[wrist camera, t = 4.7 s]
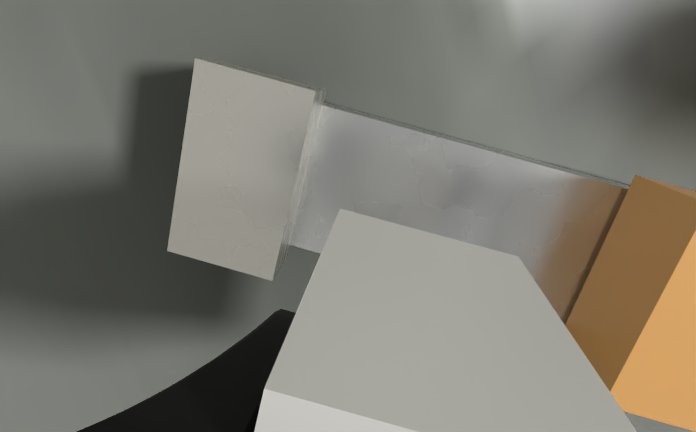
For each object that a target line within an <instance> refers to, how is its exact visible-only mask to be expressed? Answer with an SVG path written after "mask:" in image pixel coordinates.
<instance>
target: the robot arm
mask: <svg viewBox="0 0 696 432" xmlns="http://www.w3.org/2000/svg"><path fill="white" fill-rule="evenodd" d="M295 314H296V313H294V312H290V311H287V310H283V309H280V310H278V311H276V312H274V313H273V314H272V315H271V316H270V317H269V318H268V319H267V320H265V321H264V322H263V323H262V324H261V325H259V326H258V327H257V328H256V329H255V330H253V331H252V332H251V333H249V334H248V335H247V336H246V337H244V338H243V339H242V340H240V341H239V342H237V343H236V344H235V345H233V346H232V347H231V348H229V349H228V350H226V351H225V352H224V353H222V354H221V355H219V356H218V357H217V358H215V359H214V360H212V361H211V362H209V363H207V364H206V365H204V366H203V367H201V368H199V369H198V370H196V371H195V372H193V373H191V374H190V375H188V376H187V377H185V378H184V379H182V380H180V381H179V382H177V383H175V384H173V385H172V386H170V387H168V388H166V389H165V390H163V391H161V392H159V393H157V394H156V395H154V396H152V397H150V398H148V399H146V400H144V401H142V402H140V403H138V404H136V405H134V406H133V407H131V408H129V409H127V410H125V411H122V412H120V413H118V414H116V415H114V416H112V417H109V418H107V419H105V420H103V421H101V422H98V423H96V424H94V425H91V426H89V427H86V428H84V429H82V430H79V431H77V432H254V430H255V426H256V422H257V417H258V413H259V408H260V404H261V400H262V395H263V391H264V388H265V385H266V383H267V380H268V378H269V376H270V373H271V371H272V369H273V366H274V364H275V361H276V359H277V357H278V354H279V352H280V350H281V347H282V345H283V343H284V340H285V338H286V335H287V333H288V331H289V328H290V326H291V324H292V321H293V319H294V316H295Z"/></svg>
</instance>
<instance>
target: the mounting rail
mask: <svg viewBox="0 0 696 432" xmlns="http://www.w3.org/2000/svg"><path fill="white" fill-rule="evenodd" d="M325 93H326V90H325V89H322V88H318V87H314V86H311V85H307V84H304V83H300V82H296V81H293V80H289V79H285V78H282V77H278V76H274V75H271V74H267V73H263V72H260V71H256V70H252V69H249V68H245V67H241V66H238V65H234V64H230V63H227V62H223V61H217V60H208V59H199V58H195V63H194V69H193V76H192V83H191V90H190V97H189V104H188V111H187V118H186V124H185V131H184V138H183V145H182V152H181V159H180V166H179V173H178V179H177V186H176V193H175V200H174V207H173V214H172V221H171V228H170V234H169V241H168V248H167V251H169V252H173V253H176V254H180V255H183V256H187V257H190V258H194V259H197V260H201V261H204V262H208V263H211V264H215V265H218V266H222V267H225V268H229V269H232V270H236V271H239V272H243V273H246V274H250V275H253V276H257V277H261V278H264V279H268V280H271V281H273V279H274V277H275V276H276V274H277V273H278V271H279V269H280V268H281V266H282V264H283V263H284V261H285V260H286V258H287V255H288V250H289V246H290V245H292V246H296V247H299V248H303V249H306V250H310V251H313V252H317V253H320V254H321V253H322V250H323V248H324V245H325V243H326V241H327V238H328V236H329V234H330V231H331V229H332V226H333V224H334V222H335V219H336V217H337V215H338V212H339V210H340V209H344V210H348V211H351V212H355V213H359V214H363V215H366V216H370V217H374V218H377V219H381V220H385V221H388V222H392V223H396V224H400V225H403V226H407V227H411V228H414V229H418V230H422V231H426V232H429V233H433V234H437V235H440V236H444V237H448V238H452V239H455V240H459V241H463V242H466V243H470V244H474V245H478V246H481V247H485V248H489V249H492V250H496V251H500V252H504V253H507V254H511V255H515V256H518V257H519V258H520V259H521V261H522V262H523V264H524V265H525V267H526V268H527V270H528V271H529V273H530V274H531V276H532V277H533V279H534V280H535V282H536V283H537V285H538V286H539V288H540V289H541V291H542V292H543V294H544V295H545V296H546V298H547V299H548V301H549V302H550V304H551V305H552V307H553V308H554V310H555V311H556V313H557V314H558V316H559V317H560V319H561V320H562V322H565V323H566V322H567V320H568V318H569V316H570V314H571V312H572V309H573V307H574V305H575V303H576V301H577V299H578V297H579V294H580V292H581V290H582V288H583V286H584V284H585V282H586V279H587V277H588V275H589V273H590V271H591V269H592V267H593V264H594V262H595V260H596V258H597V256H598V254H599V251H600V249H601V247H602V245H603V243H604V241H605V239H606V236H607V234H608V232H609V230H610V228H611V226H612V224H613V221H614V219H615V217H616V215H617V213H618V211H619V209H620V206H621V204H622V202H623V200H624V198H625V196H626V194H627V191H628V189H629V187H630V186H629V185H626V184H622V183H619V182H615V181H611V180H608V179H604V178H600V177H597V176H593V175H589V174H586V173H582V172H578V171H575V170H571V169H568V168H564V167H560V166H557V165H553V164H549V163H546V162H542V161H538V160H535V159H531V158H527V157H524V156H520V155H517V154H513V153H509V152H506V151H502V150H498V149H495V148H491V147H487V146H484V145H480V144H476V143H473V142H469V141H466V140H462V139H458V138H455V137H451V136H447V135H444V134H440V133H436V132H433V131H429V130H425V129H422V128H418V127H415V126H411V125H407V124H404V123H400V122H396V121H393V120H389V119H385V118H382V117H378V116H374V115H371V114H367V113H364V112H360V111H356V110H353V109H349V108H345V107H342V106H338V105H334V104H331V103H327V102H324V97H325Z"/></svg>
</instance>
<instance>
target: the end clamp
mask: <svg viewBox="0 0 696 432" xmlns="http://www.w3.org/2000/svg"><path fill="white" fill-rule="evenodd" d="M565 326H566V328H567V329H568V330H569V332H570V333H571V335H572V336H573V338H574V339H575V341H576V342H577V344H578V345H579V347H580V348H581V350H582V351H583V353H584V354H585V356H586V357H587V359H588V360H589V362H590V363H591V364H592V366H593V367H594V369H595V370H596V372H597V373H598V375H599V376H600V378H601V379H602V381H603V382H604V384H605V385H606V387H607V388H608V390H609V391H610V393H611V394H612V396H613V397H614V399H615V400H616V401H617V403H618V404H619V406H620V407H621V409H622V410H623V411H625V412H628V413H632V414H635V415H639V416H642V417H646V418H649V419H653V420H656V421H660V422H663V423H667V424H670V425H674V426H677V427H681V428H684V429H688V430H691V431H695V432H696V191H693V190H689V189H685V188H682V187H678V186H675V185H671V184H667V183H664V182H660V181H656V180H653V179H649V178H645V177H642V176H638V175H635V176H634V179H633V181H632V183H631V185H630V187H629V189H628V191H627V194H626V196H625V198H624V200H623V202H622V204H621V206H620V209H619V211H618V213H617V215H616V217H615V219H614V221H613V224H612V226H611V228H610V230H609V232H608V234H607V236H606V239H605V241H604V243H603V245H602V247H601V249H600V251H599V254H598V256H597V258H596V260H595V262H594V264H593V267H592V269H591V271H590V273H589V275H588V277H587V279H586V282H585V284H584V286H583V288H582V290H581V292H580V294H579V297H578V299H577V301H576V303H575V305H574V307H573V309H572V312H571V314H570V316H569V318H568V320H567V322H566V324H565Z"/></svg>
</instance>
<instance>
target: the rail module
mask: <svg viewBox="0 0 696 432" xmlns="http://www.w3.org/2000/svg"><path fill="white" fill-rule="evenodd" d="M254 432H637V431H636V430H635V428H634V427H633V425H632V424H631V422H630V421H629V419H628V418H627V416H626V415H625V413H624V412H623V410H622V409H621V407H620V406H619V404H618V403H617V401H616V400H615V399H614V397H613V396H612V394H611V393H610V391H609V390H608V388H607V387H606V385H605V384H604V382H603V381H602V379H601V378H600V376H599V375H598V373H597V372H596V370H595V369H594V367H593V366H592V364H591V363H590V362H589V360H588V359H587V357H586V356H585V354H584V353H583V351H582V350H581V348H580V347H579V345H578V344H577V342H576V341H575V339H574V338H573V336H572V335H571V333H570V332H569V330H568V329H567V328H566V326H565V325H564V323H563V322H562V320H561V319H560V317H559V316H558V314H557V313H556V311H555V310H554V308H553V307H552V305H551V304H550V302H549V301H548V299H547V298H546V296H545V295H544V294H543V292H542V291H541V289H540V288H539V286H538V285H537V283H536V282H535V280H534V279H533V277H532V276H531V274H530V273H529V271H528V270H527V268H526V267H525V265H524V264H523V262H522V261H521V259H520V258H519V257H518V256H515V255H511V254H507V253H504V252H500V251H496V250H492V249H489V248H485V247H481V246H478V245H474V244H470V243H466V242H463V241H459V240H455V239H452V238H448V237H444V236H440V235H437V234H433V233H429V232H426V231H422V230H418V229H414V228H411V227H407V226H403V225H400V224H396V223H392V222H388V221H385V220H381V219H377V218H374V217H370V216H366V215H363V214H359V213H355V212H351V211H348V210H344V209H340V210H339V212H338V215H337V217H336V219H335V222H334V224H333V226H332V229H331V231H330V234H329V236H328V238H327V241H326V243H325V245H324V248H323V250H322V253H321V255H320V257H319V260H318V262H317V264H316V267H315V269H314V271H313V274H312V276H311V279H310V281H309V283H308V286H307V288H306V290H305V293H304V295H303V298H302V300H301V302H300V305H299V307H298V309H297V312H296V314H295V316H294V319H293V321H292V324H291V326H290V328H289V331H288V333H287V335H286V338H285V340H284V343H283V345H282V347H281V350H280V352H279V354H278V357H277V359H276V361H275V364H274V366H273V369H272V371H271V373H270V376H269V378H268V380H267V383H266V385H265V388H264V391H263V395H262V400H261V404H260V408H259V413H258V417H257V422H256V426H255V430H254Z"/></svg>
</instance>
